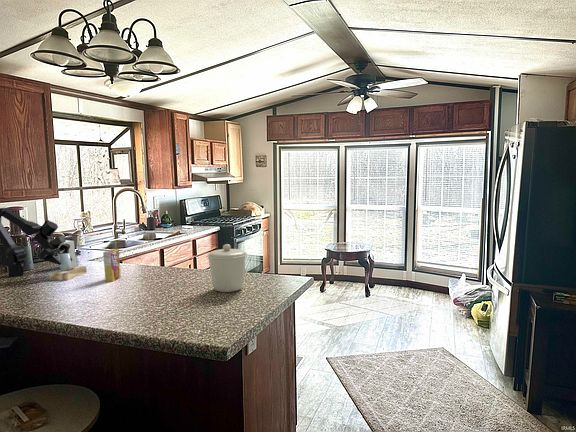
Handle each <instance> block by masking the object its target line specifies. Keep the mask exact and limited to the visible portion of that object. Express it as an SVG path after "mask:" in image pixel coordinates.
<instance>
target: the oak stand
mask: <svg viewBox="0 0 576 432" xmlns="http://www.w3.org/2000/svg"><path fill="white" fill-rule="evenodd" d="M87 273H88V271H87V266H83V265H80V266H77V265H76V266H71V270H70V271H61V270H58V271H57V270H55V271H52V272H49V280H50V281H70V280H71V279H74V278H77V277H80V276H82V275H85V274H87Z"/></svg>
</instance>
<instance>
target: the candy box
mask: <svg viewBox="0 0 576 432" xmlns="http://www.w3.org/2000/svg"><path fill="white" fill-rule="evenodd" d="M102 253H103V254H102V256H103V257H102V258H103V266H104V276H105V277H104V278H105V279H104V280H105V282H108V283H109V282H111V283H112V282H115V281H117V280H119V279H120V278H122V274H121V273H122V272H121V262H120V251H119V248H111V249H108V250H105V251H103V252H102Z"/></svg>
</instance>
